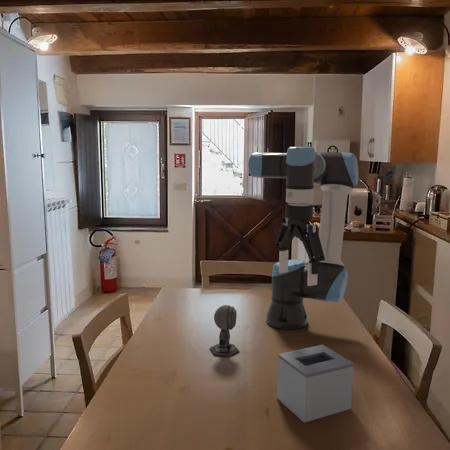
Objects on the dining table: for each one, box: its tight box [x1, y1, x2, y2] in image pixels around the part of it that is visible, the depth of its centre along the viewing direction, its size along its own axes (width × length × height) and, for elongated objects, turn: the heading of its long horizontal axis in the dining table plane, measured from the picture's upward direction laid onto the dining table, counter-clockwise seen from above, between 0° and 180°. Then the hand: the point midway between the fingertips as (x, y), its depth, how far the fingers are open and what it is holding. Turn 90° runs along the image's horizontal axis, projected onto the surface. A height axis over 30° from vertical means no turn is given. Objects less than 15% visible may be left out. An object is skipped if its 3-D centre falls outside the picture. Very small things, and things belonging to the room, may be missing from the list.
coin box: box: [276, 344, 354, 423], centre depth 115 cm, size 14×12×12 cm
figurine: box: [209, 304, 240, 358], centre depth 144 cm, size 9×10×15 cm
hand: (297, 278), depth 129 cm, fingers open, 13 cm apart
